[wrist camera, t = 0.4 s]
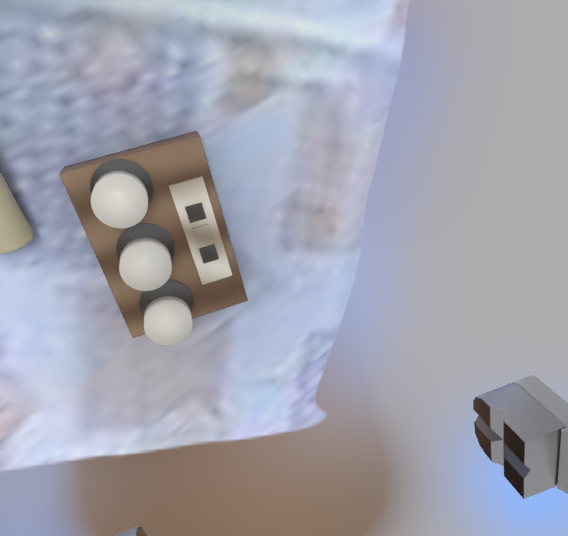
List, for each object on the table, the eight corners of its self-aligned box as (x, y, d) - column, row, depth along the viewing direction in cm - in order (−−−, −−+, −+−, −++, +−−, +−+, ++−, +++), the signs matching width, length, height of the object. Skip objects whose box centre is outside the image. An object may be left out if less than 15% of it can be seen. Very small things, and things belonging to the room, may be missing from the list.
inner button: (84, 179, 44) (81, 184, 43) (137, 164, 45) (137, 169, 43) (104, 227, 47) (103, 235, 45) (154, 213, 47) (155, 219, 46)
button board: (64, 167, 49) (58, 175, 46) (196, 131, 51) (200, 136, 48) (133, 324, 58) (132, 340, 55) (243, 289, 60) (248, 302, 57)
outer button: (137, 304, 51) (136, 313, 49) (183, 289, 51) (184, 298, 50) (152, 341, 53) (153, 351, 51) (196, 327, 54) (198, 336, 52)
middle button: (112, 246, 47) (111, 253, 46) (161, 231, 48) (162, 238, 46) (130, 288, 50) (129, 297, 48) (177, 273, 50) (178, 282, 49)
